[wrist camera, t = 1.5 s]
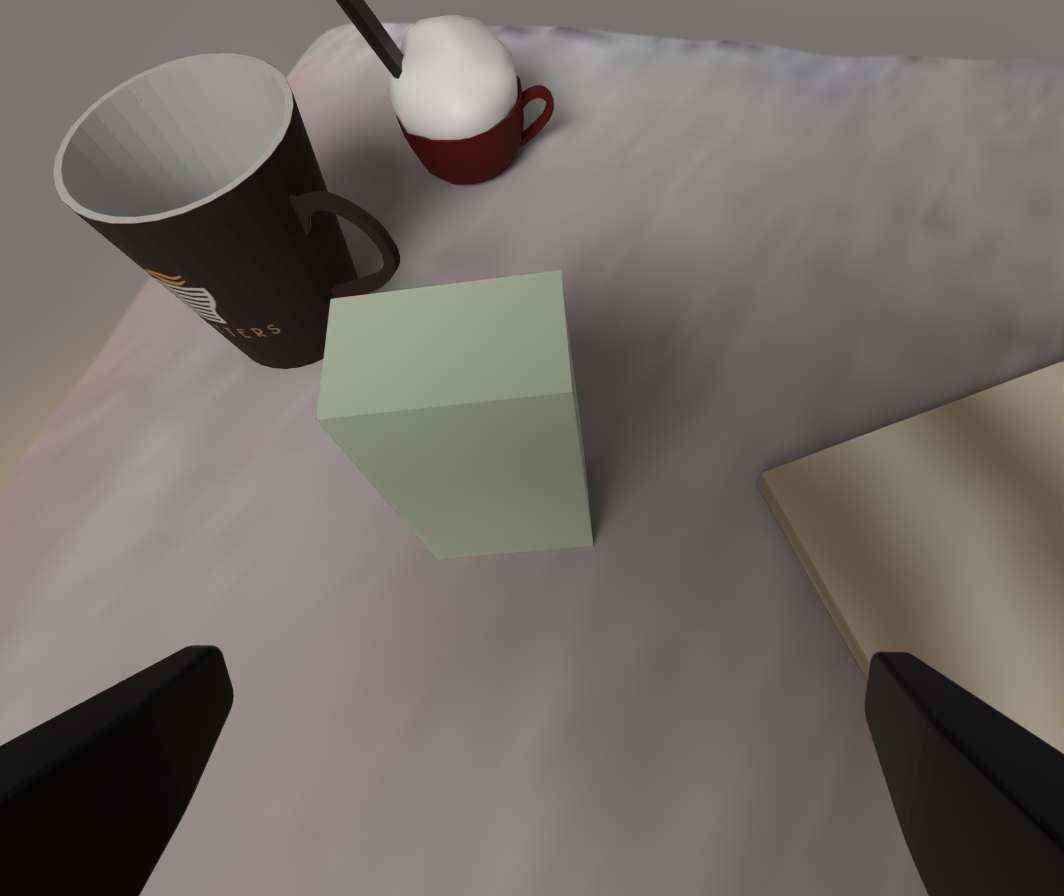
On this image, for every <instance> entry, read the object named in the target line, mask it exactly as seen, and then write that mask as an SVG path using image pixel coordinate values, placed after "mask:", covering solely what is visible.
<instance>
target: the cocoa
mask: <svg viewBox="0 0 1064 896" xmlns="http://www.w3.org/2000/svg"><path fill="white" fill-rule="evenodd" d="M336 1H337V3H338V4H339V5H340V7H341V8H342V9H343V11H344V12H345V13H346V15H347V16H348V17H349V19H350V20H351V21H352V23H353V24H354V25H355V26H356V28H357V29H358V30H359V32H360V33H361V34H362V36H363V37H364V38H365V40H366V41H367V42H368V44H369V45H370V46H371V48H372V49H373V50H374V52H375V53H376V54H377V56H378V57H379V58H380V60H381V61H382V62H383V63H384V65H385V66H386V67H387V69H388V70H389V71H390V72H389V83H388V91H389V95H390V99H391V103H392V106H393V108H394V110H395V112H396V114H397V119H398V122H399V124H400V127H401V129H402V132H403V134H404V137H405V138H406V140H407V142H408V143H409V145H410V146H411V148H412V150H413V151H414V152H415V154H416V155H417V156H418V158H419V159H420V160H421V162H422V163H423V164H424V166H425V167H426V168H427V170H428V171H429V172H430V173H431V174H433V175H435V176H437V177H439V178H441V179H443V180H446V181H448V182H451V183H453V184H475V183H478V182H481V181H484V180H487V179H490V178H493V177H494V176H496V175H497V174H498V173H500V172H501V171H502V170H504V169H505V168H506V167H508V165H509V163H510V162H511V160H512V159H513V157H514V155H515V153H516V152H517V150H518V148H519V147H521V146H523V145H524V144H526V143H527V142H528V141H529V140H530V139H532V138H533V137H534V136H535V135H537V134H538V132H539V131H540V130H541V129H542V128H543V127H544V126H545V125H546V123H547V122H548V121H549V119H550V117H551V115H552V112H553V110H554V101H553V97H552V94H551V92H550V90H548V89H547V88H546V87H544V86H541V85H537V86H533V87H530V88H528V89H526V90H525V91H524V92H523V93H522V89H521V82H520V78H519V77H518V76H517V75H516V70H515V66H514V62H513V58H512V55H511V52H510V51H509V50H508V49H507V48H506V47H505V46H504V45H503V43H502V42H501V41H500V40H499V39H497V38H496V37H495V36H494V35H493V34H492V33H491V32H490V31H489V30H488V29H487V28H486V27H485V26H484V25H483V24H482V23H481V22H480V21H479V20H478V19H477V18H472V17H466V16H459V15H449V16H439V17H432V18H426V19H420V20H418V21H417V22H416V23H415V24H414V25H413V26H412V27H411V28H410V29H409V30H408V32H407V34H406V36H405V38H404V40H403V43H402V47H401V51H400V50H399V48H398V47H397V46H396V44H395V43H394V41H393V40H392V39H391V37H390V36H389V34H388V33H387V32H386V30H385V29H384V27H383V26H382V25H381V23H380V22H379V21H378V19H377V18H376V16H375V15H374V14H373V12H372V11H371V10H370V8H369V7H368V5H367V4H366V3H365V1H364V0H336ZM534 98H542V99H544V100H545V101H546V103H547V104H546V107H545V109H544V111H543V113H542V114H541V115H540V116H539V118H538V119H537V120H536V121H535V122H534V123H533V124H531V125H530V126H529V127H528V128H527V129H526V130H524V131H523V120H524V114H523V108H524V107H525V105H526V104H527V103H528V102H529V101H531V100H533V99H534Z"/></svg>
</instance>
